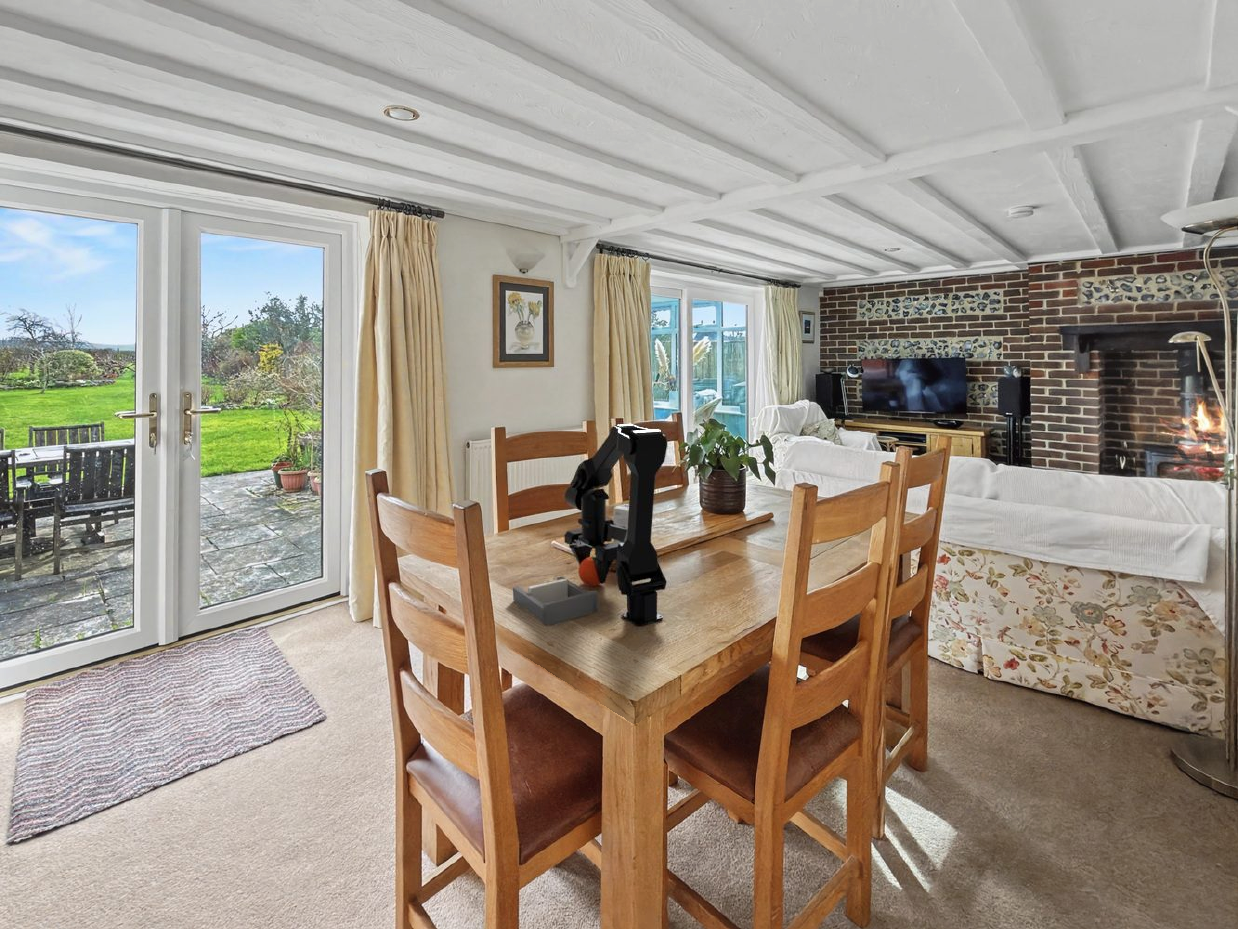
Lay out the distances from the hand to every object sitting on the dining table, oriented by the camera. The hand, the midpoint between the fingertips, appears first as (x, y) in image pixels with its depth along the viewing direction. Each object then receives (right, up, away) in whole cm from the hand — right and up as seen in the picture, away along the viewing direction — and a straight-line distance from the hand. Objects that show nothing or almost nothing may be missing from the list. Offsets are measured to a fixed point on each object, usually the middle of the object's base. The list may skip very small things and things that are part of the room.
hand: (594, 578), depth 150 cm
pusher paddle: (-10, -3, -10) cm, 14 cm away
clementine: (0, -2, 0) cm, 2 cm away
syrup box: (+8, +2, +20) cm, 22 cm away
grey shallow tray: (-8, -4, -13) cm, 15 cm away
